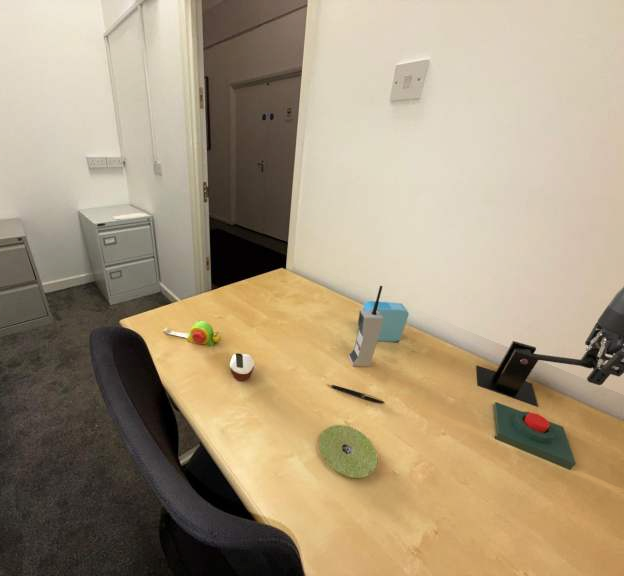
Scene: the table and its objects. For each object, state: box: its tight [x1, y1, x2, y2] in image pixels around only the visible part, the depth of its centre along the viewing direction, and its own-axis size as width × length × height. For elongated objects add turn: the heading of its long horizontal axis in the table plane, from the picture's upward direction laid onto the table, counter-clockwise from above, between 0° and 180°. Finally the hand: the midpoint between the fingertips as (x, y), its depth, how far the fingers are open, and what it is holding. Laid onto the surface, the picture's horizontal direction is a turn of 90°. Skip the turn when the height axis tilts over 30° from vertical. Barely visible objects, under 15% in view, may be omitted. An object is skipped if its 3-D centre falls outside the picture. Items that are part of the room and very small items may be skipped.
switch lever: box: [514, 348, 599, 370], centre depth 70 cm, size 14×6×2 cm, turn 56°
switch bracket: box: [475, 340, 540, 408], centre depth 75 cm, size 12×9×13 cm
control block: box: [492, 401, 576, 471], centre depth 65 cm, size 12×10×4 cm
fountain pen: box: [326, 383, 386, 404], centre depth 75 cm, size 14×1×2 cm, turn 66°
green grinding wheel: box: [318, 424, 378, 479], centre depth 61 cm, size 11×11×2 cm
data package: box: [357, 300, 410, 343], centre depth 94 cm, size 12×4×12 cm, turn 84°
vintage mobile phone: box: [348, 285, 384, 368], centre depth 80 cm, size 4×5×25 cm
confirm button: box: [524, 412, 550, 433], centre depth 64 cm, size 4×4×2 cm
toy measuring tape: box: [162, 320, 221, 346], centre depth 93 cm, size 6×19×7 cm, turn 71°
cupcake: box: [229, 352, 255, 381], centre depth 77 cm, size 10×6×12 cm, turn 147°
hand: (588, 373), depth 67 cm, fingers closed on switch lever, 5 cm apart
